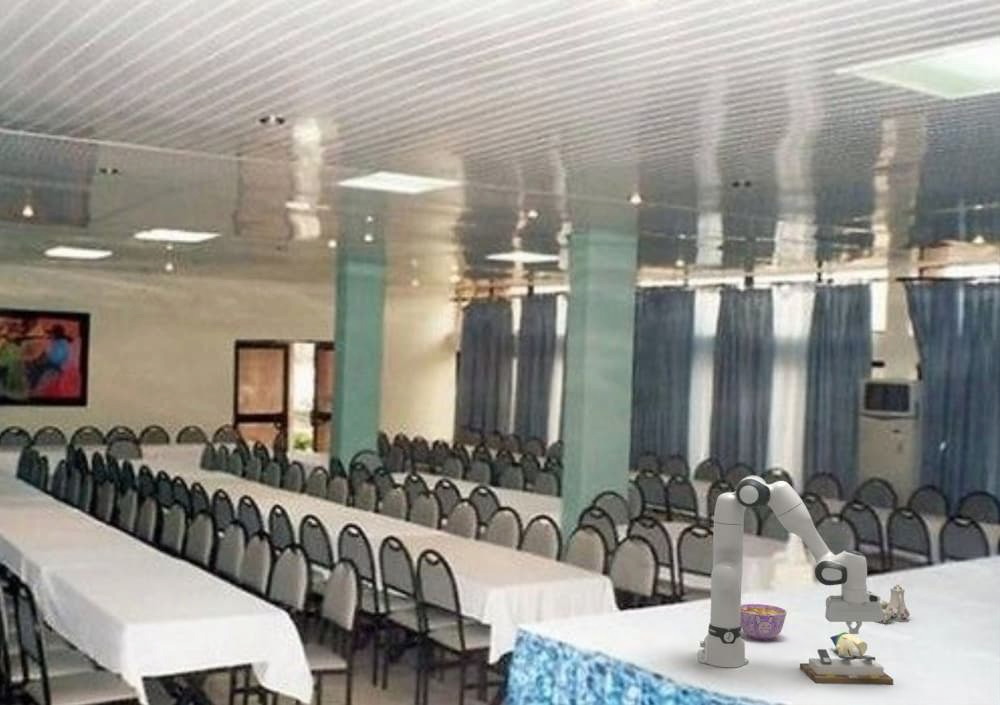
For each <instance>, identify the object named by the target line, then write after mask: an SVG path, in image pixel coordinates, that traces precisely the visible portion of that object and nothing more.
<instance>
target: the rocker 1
mask: <svg viewBox="0 0 1000 705" xmlns="http://www.w3.org/2000/svg"><path fill="white" fill-rule="evenodd" d="M817 653H818V656H819V659H821V661H822V663H823V664H826V665H831V663H832V662H831V660H830V659H831V658H830V655H829V653H828V651H827V649H826V648H825V649H820V648H819V649H817Z"/></svg>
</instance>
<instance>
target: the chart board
mask: <svg viewBox="0 0 1000 705" xmlns="http://www.w3.org/2000/svg"><path fill="white" fill-rule="evenodd" d="M799 669H800V670H801V671H802V672H803V673H804V674H805V675H806V676H807V677H808V678H810V680H812V681H813V682H814V683H815V684H832V685H833V684H835V685H837V684H839V685H842V684H843V685H886V686H887V685H891V686H892V685H894V678H892V677H891V676H890V675H889V674H887V673H886V672H884V671H883V676H878V675H833V674H825V675H820V674H817V673H816V672H814V671H813V670H812V669H811V668H810V667H809V662H807V663H805V662H800V663H799Z"/></svg>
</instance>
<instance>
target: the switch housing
mask: <svg viewBox="0 0 1000 705" xmlns="http://www.w3.org/2000/svg"><path fill="white" fill-rule="evenodd" d="M830 660H831V662H832V663H831V665H826V664H823V663H822V661H821V659H820V658H814V657H813V658H811V657H809V658H808V663H809V667H810V668H811V669H812V670H813V671H814V672H816V673H817V674H820V675H825V674H833V675H878V676H883V672H884V666H882V665H881V664H880V663H878V662H877V661H876V660H865V659H862V658H860V659H859V658H854V660H845V659H842V658H830Z"/></svg>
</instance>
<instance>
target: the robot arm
mask: <svg viewBox="0 0 1000 705" xmlns="http://www.w3.org/2000/svg"><path fill="white" fill-rule="evenodd" d="M766 505H767V506H768V507H770V509H771V510H772V511H773V513H774V515H775V516H776V518H777V520H778V521H779V523H780V524H781V525H782V526H783V527H784V529H785V530H787V532H789V533H791V534H793V535H795V536H797V537H799V538H800V539H801V540H802V542H803V543H804V544H805V545H806V548H807V549H808V550H809V552H810V553H811V554H812V556H813V557H814V560H815V564H816V566H815V568H814V575H815V578H816V579H817V581H818V582H819V583H820V584H822V585H824V586H837V585H841V587H840V588H841V595H829V596H828V597H826V599H825V607H826V608H825V616H824V617H825V619H826V621H828V622H829V623H839V622H840V623H843V622H845V623H846V626H847V628H848V633H849V634H851V635H859V634H860V629H861V627H862V626H863V623H864V622H865V623H870V622H871V623H873V622H874V623H875V622H876V623H879V622H881V621H882V619H883V610H882V605H881V604H880V603H879V602H880V601H881V596H880V595H878V594H876V593H875V592H872V591H869V590H868V587H867V578H868V565H867V558H866V556H865V554H863V553H862V552H860V551H858V550H854V549H844V550H843V551H842V552H840V553H838V554H837V553H835V552H834V551H832V550H831V548H829V546H828V545H827V544H826V542H825V541H824V539H823V537H822V536H821V534H820V533H819V531H818V530H817V528H816V527H815V524H814V522H813V519H812V516H811V514H810V512H809V510H808V508H807V506H806V504H805V503H804V502H803V499H802V498H801V497H800V495H799V494H798V493H797V492H796V491H795V489H794V488H793V486H791V485H790V484H789V483H788V482H787V481H784V480H778V481H775V482H773V483H769V484H768V482H767V480H766V479H764V477H762V476H760V475H759V474H758V475H756V474H751V475H748V476H745V477H744V478H742V479H741V480H740V481H739V483H738V484H737V485H736V488H735V490H734V491H733V492H724V493H721V494H720V495H718V497H717V499H716V503H715V506H714V512H713V514H714V516H713V533H712V534H713V536H712V538H713V539H712V544H713V545H712V570H711V574H710V620H709V621H710V622H709V624H708V630H707V635H706V636H705V637H704V640H701V641H700V642H699V644H700V645H699V647H700V649H698V650H697V656H698V662H699V663H703V664H707V665H711V666H713V667H719V668H720V667H721V668H738V667H742V666H743V665H746V664H749V663H750V660H749V659H748V658H746V643H745V640H744V639H743V638H742V633H743V632H742V631H743V630H742V628H741V626H740V616H741V605H742V579H743V578H742V576H743V563H744V561H743V558H744V556H743V555H744V554H743V553H744V551H743V550H744V527H745V526H744V523H745V522H744V520H745V511H746V509H747V508H750V509H751V508H752V509H753V508H758V507H761V506H766ZM853 623H856V625H855V627H852V624H853ZM701 648H702V649H701Z"/></svg>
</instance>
